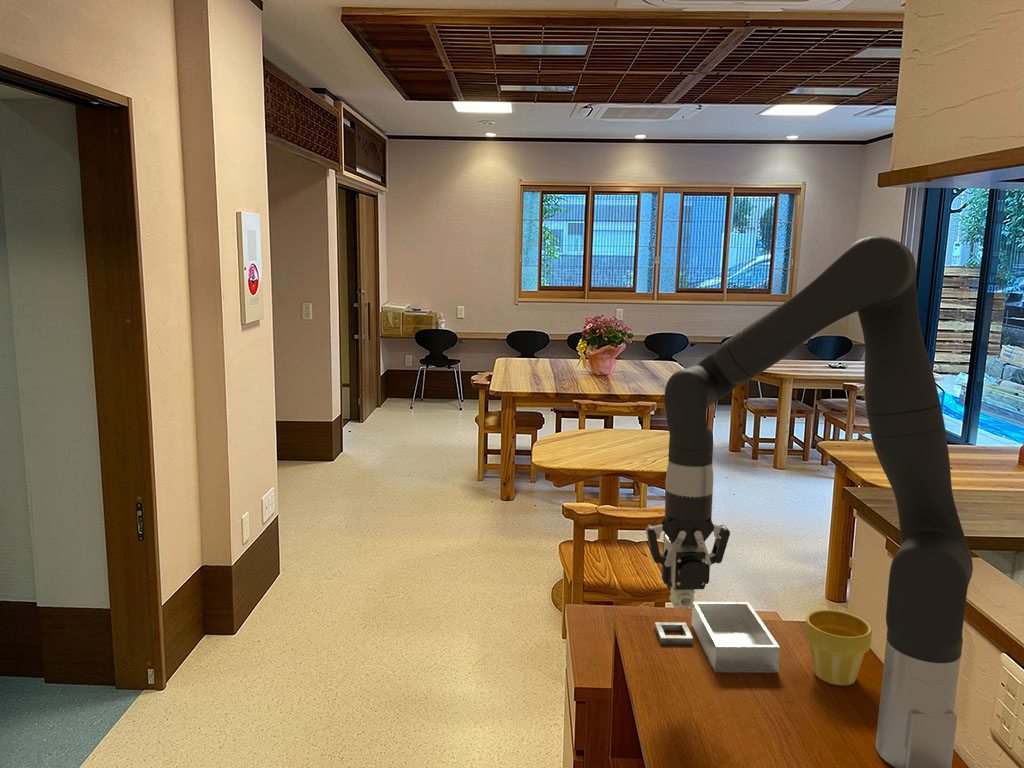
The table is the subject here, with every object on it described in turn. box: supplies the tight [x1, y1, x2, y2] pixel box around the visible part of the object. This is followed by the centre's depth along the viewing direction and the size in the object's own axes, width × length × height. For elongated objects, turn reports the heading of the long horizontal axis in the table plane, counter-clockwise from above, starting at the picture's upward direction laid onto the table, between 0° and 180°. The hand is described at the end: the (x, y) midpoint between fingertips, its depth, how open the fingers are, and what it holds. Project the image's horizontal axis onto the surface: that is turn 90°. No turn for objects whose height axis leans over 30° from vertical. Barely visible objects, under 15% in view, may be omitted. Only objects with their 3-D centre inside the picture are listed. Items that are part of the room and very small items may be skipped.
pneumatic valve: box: [661, 532, 710, 610], centre depth 123 cm, size 6×12×12 cm, turn 2°
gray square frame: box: [654, 621, 694, 645], centre depth 140 cm, size 6×6×1 cm
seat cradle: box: [690, 601, 781, 674], centre depth 135 cm, size 17×11×5 cm, turn 0°
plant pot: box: [804, 609, 873, 687], centre depth 126 cm, size 10×10×10 cm
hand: (685, 585), depth 123 cm, fingers closed on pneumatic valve, 5 cm apart
